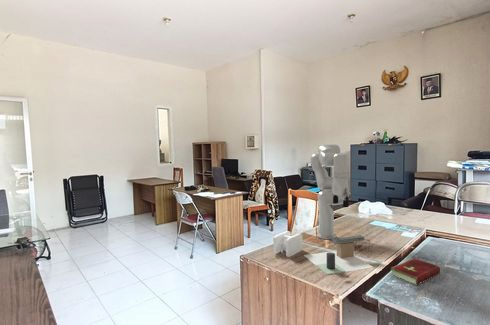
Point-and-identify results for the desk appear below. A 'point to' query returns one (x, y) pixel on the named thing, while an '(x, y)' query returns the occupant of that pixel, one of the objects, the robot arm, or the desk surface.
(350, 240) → the bar
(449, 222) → the desk surface
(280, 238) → the cable organizer
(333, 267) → the cable plug
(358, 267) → the cable panel
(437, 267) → the hardcover book
